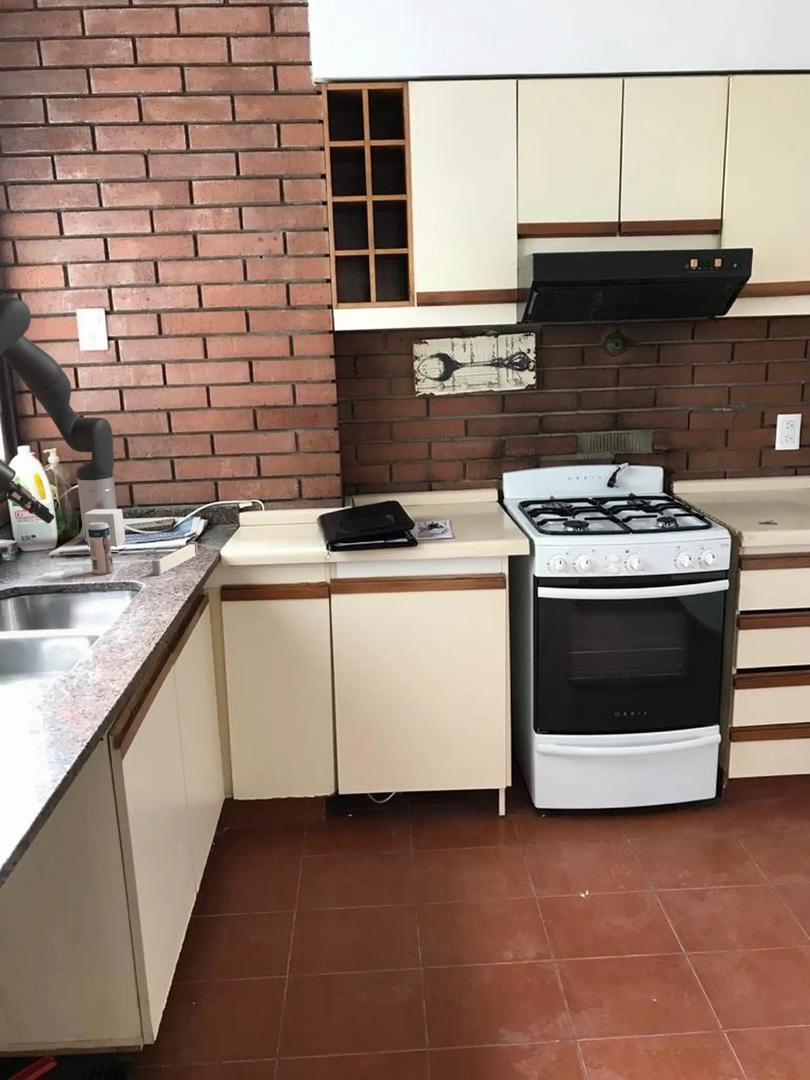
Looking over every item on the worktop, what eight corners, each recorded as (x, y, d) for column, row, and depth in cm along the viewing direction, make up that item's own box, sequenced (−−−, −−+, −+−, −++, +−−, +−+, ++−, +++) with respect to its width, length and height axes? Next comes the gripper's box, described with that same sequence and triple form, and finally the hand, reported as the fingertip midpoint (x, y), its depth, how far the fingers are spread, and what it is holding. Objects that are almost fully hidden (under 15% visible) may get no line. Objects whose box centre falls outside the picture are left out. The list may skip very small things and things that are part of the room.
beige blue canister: (114, 573, 200) (109, 524, 197) (92, 576, 198) (87, 526, 195) (113, 568, 204) (108, 520, 201) (92, 571, 202) (86, 522, 199)
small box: (126, 547, 223) (122, 508, 221) (117, 553, 218) (113, 513, 215) (97, 547, 224) (93, 508, 222) (87, 553, 219) (83, 513, 216)
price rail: (159, 575, 198) (157, 561, 197) (153, 574, 198) (151, 560, 197) (198, 555, 215) (197, 542, 214) (192, 554, 215) (191, 541, 215)
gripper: (1, 462, 179) (65, 509, 187) (-5, 454, 191) (55, 498, 199) (-24, 490, 178) (42, 536, 186) (-28, 480, 190) (34, 523, 198)
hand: (49, 516), depth 192 cm, fingers open, 8 cm apart
